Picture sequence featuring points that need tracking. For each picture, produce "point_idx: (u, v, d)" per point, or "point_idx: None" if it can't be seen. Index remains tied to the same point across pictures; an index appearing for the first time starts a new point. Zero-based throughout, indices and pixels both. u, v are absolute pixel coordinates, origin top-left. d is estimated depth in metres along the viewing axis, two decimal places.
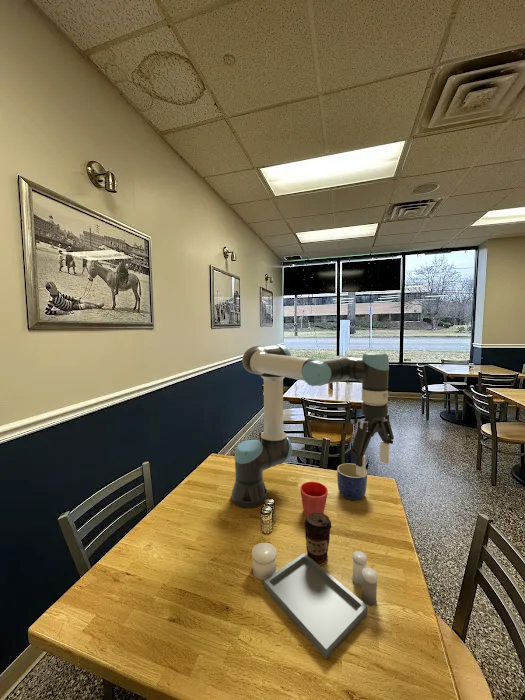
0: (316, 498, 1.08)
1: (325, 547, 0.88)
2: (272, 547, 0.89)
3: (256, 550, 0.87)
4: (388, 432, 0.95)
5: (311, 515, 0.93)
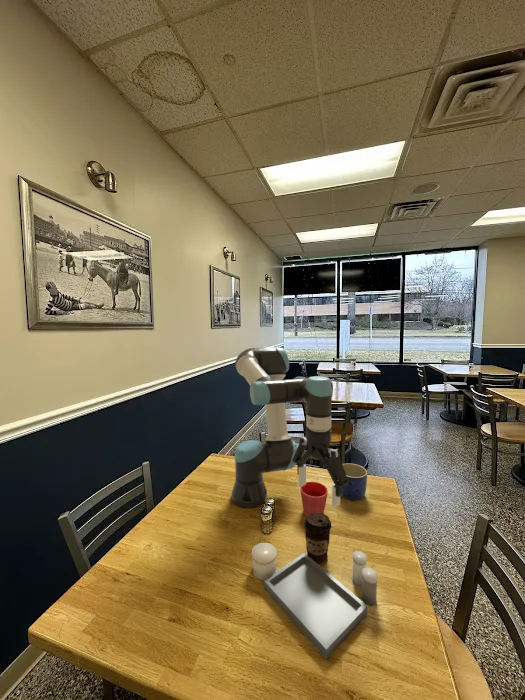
0: (316, 498, 1.08)
1: (325, 547, 0.88)
2: (272, 547, 0.88)
3: (256, 550, 0.87)
4: None
5: (311, 515, 0.93)
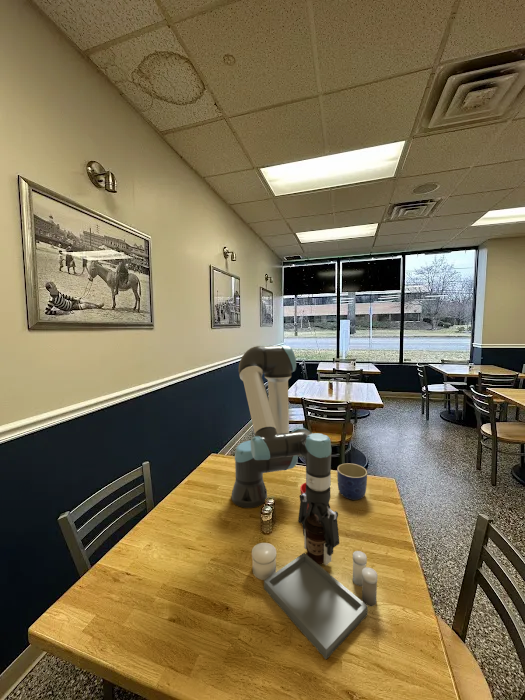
0: None
1: None
2: (272, 547, 0.89)
3: (256, 550, 0.87)
4: None
5: (311, 515, 0.92)
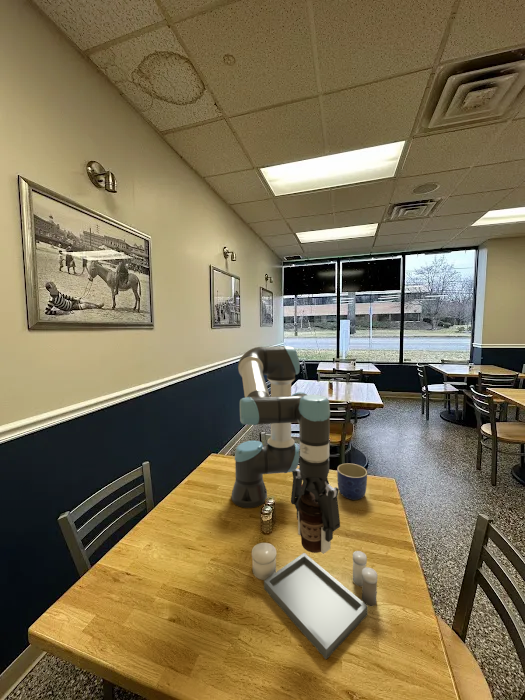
0: None
1: None
2: (272, 547, 0.89)
3: (256, 550, 0.87)
4: None
5: (306, 494, 0.77)
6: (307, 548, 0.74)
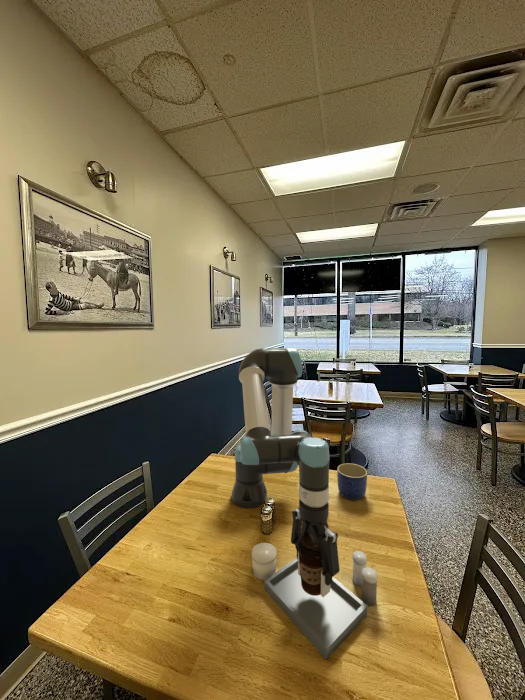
0: None
1: None
2: (272, 547, 0.89)
3: (256, 550, 0.87)
4: None
5: (306, 535, 0.78)
6: (307, 590, 0.74)
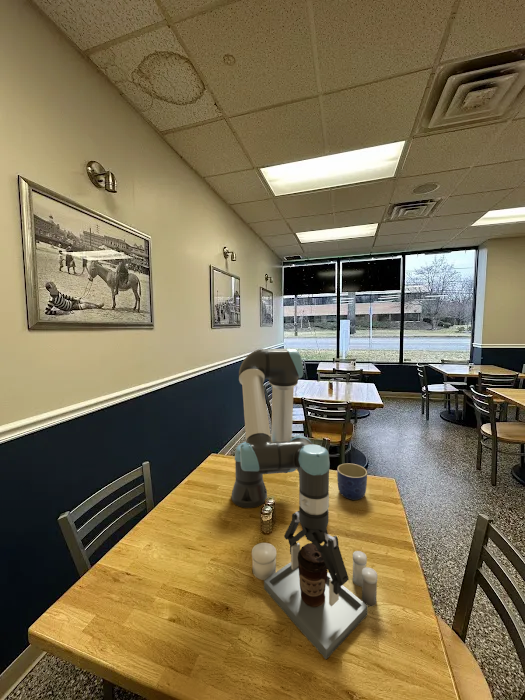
0: None
1: (322, 587, 0.74)
2: (272, 547, 0.89)
3: (256, 550, 0.87)
4: None
5: (306, 547, 0.78)
6: (306, 602, 0.75)
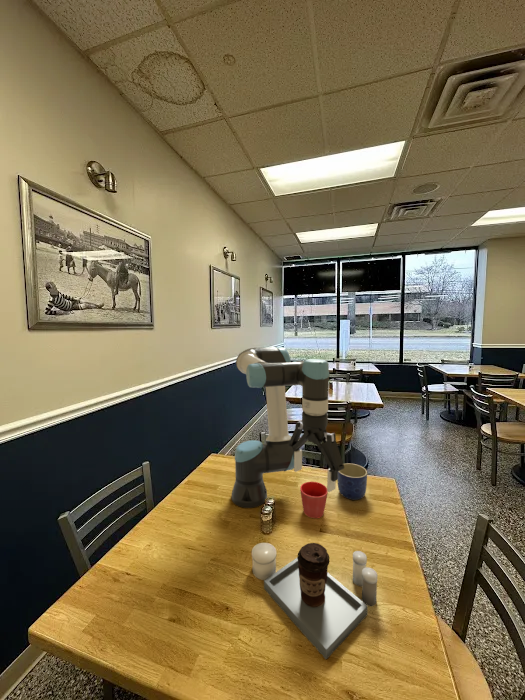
0: (316, 498, 1.08)
1: (322, 587, 0.74)
2: (272, 547, 0.89)
3: (256, 550, 0.87)
4: None
5: (305, 547, 0.78)
6: (306, 602, 0.75)
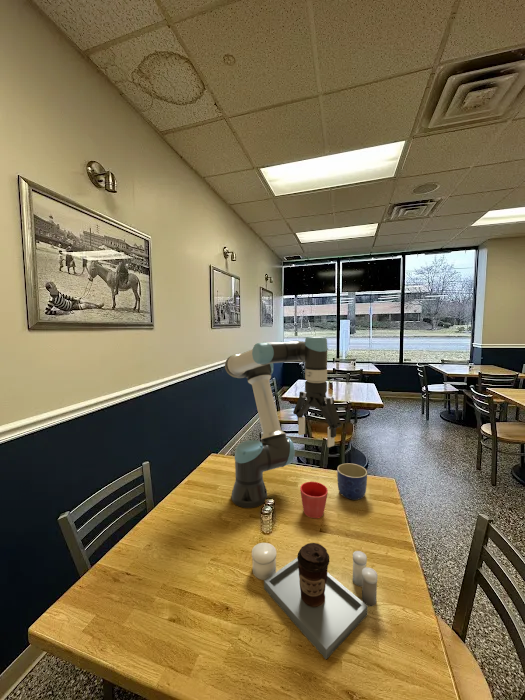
0: (316, 498, 1.08)
1: (322, 587, 0.74)
2: (272, 547, 0.89)
3: (256, 550, 0.87)
4: None
5: (305, 547, 0.78)
6: (306, 602, 0.75)
